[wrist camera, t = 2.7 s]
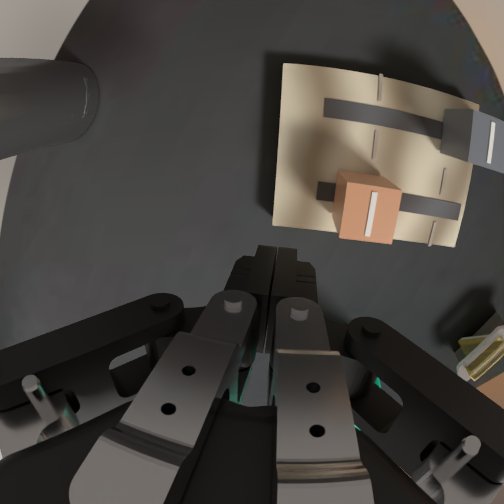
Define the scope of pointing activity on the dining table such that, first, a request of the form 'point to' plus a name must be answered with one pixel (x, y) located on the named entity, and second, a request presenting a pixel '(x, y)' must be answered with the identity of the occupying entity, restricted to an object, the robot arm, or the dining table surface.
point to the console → (367, 150)
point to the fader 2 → (473, 138)
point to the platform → (480, 348)
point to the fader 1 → (365, 207)
